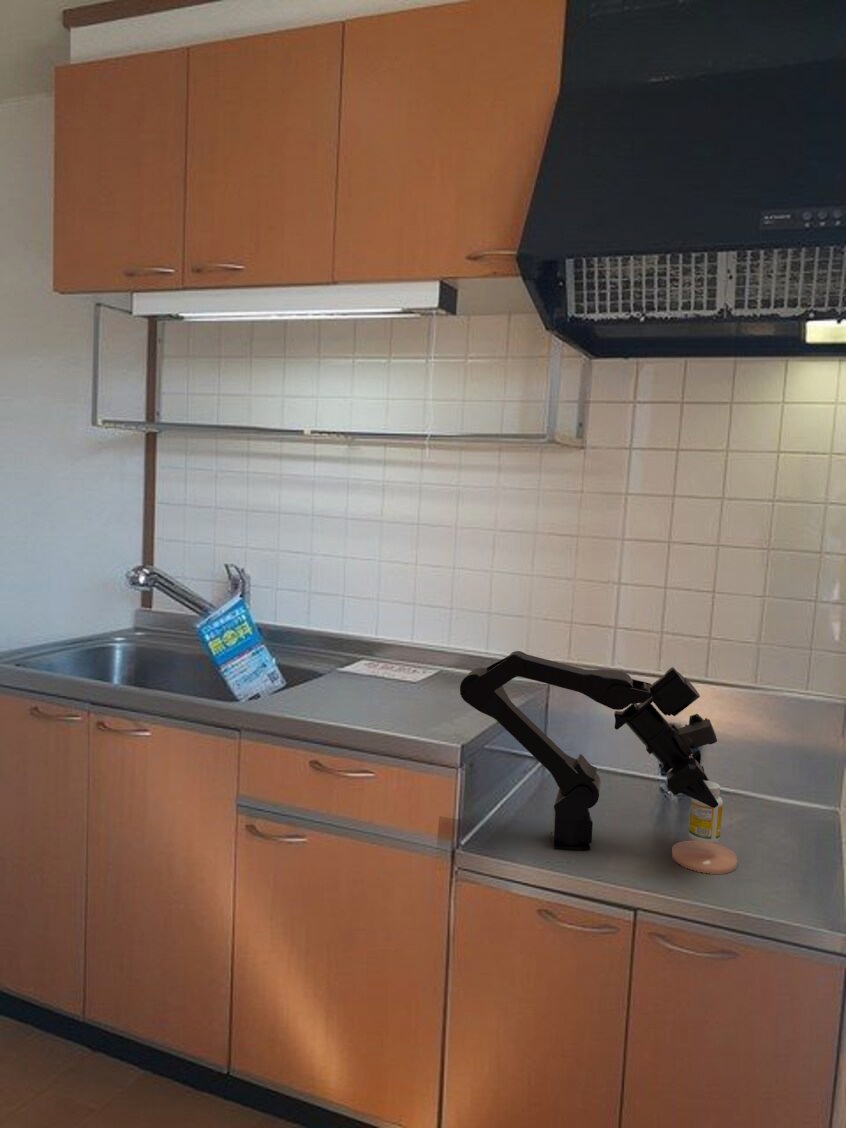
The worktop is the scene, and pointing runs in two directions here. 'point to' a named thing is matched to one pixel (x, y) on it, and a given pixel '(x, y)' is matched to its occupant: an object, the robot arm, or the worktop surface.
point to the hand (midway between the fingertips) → (715, 800)
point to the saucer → (704, 857)
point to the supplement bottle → (706, 817)
